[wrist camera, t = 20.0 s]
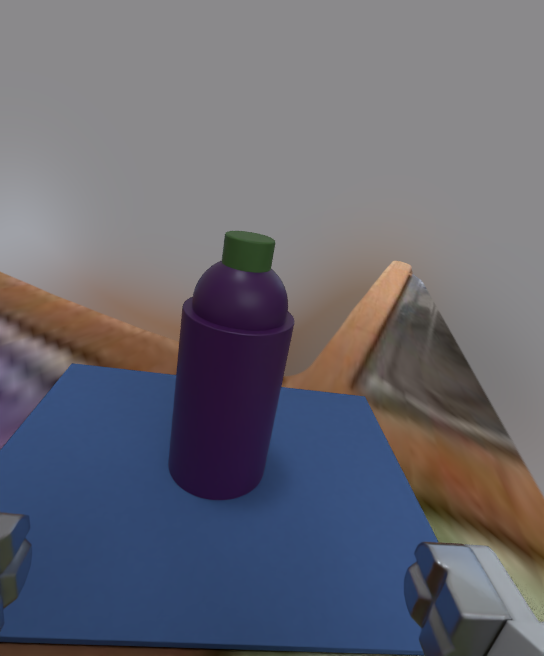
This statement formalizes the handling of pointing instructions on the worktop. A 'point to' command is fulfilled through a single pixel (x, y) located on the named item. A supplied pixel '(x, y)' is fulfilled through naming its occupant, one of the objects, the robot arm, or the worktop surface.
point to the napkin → (208, 527)
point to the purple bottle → (230, 371)
